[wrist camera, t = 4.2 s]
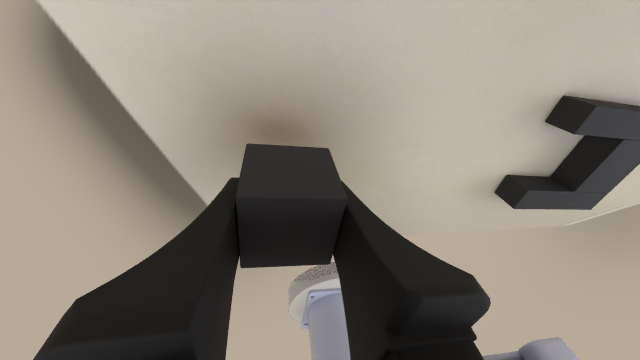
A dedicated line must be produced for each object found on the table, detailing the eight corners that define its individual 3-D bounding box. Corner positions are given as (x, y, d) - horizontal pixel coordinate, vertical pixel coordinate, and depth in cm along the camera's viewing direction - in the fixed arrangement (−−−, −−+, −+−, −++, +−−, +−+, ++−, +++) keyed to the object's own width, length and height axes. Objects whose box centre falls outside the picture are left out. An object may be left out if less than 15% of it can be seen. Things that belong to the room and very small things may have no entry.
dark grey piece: (567, 194, 27) (591, 210, 25) (494, 192, 25) (513, 209, 23) (649, 107, 21) (688, 117, 19) (563, 95, 19) (597, 105, 17)
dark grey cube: (317, 207, 14) (330, 264, 11) (248, 206, 13) (240, 268, 10) (328, 147, 12) (348, 198, 9) (246, 143, 11) (234, 196, 8)
